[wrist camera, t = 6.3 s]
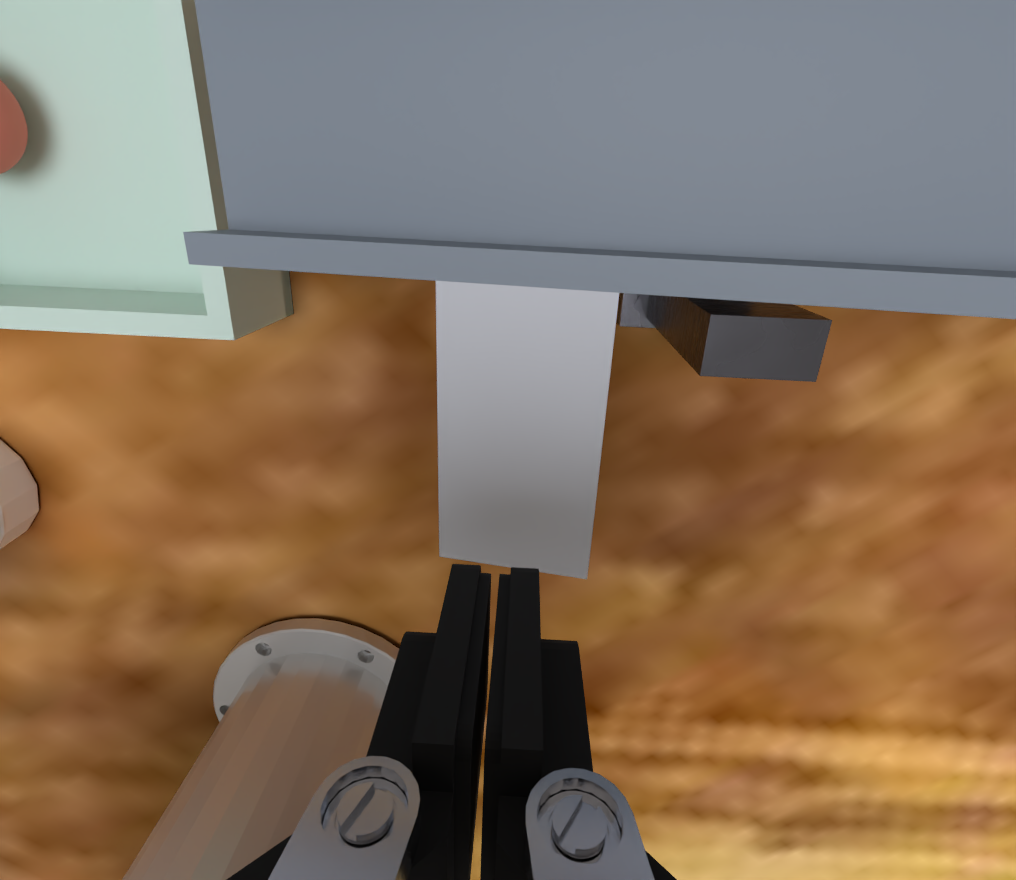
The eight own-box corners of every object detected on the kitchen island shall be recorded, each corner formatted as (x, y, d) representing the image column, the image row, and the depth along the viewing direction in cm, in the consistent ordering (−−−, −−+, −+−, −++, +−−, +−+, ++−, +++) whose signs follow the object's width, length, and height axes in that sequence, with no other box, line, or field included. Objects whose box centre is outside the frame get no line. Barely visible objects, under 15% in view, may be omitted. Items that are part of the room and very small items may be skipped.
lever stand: (739, 328, 23) (850, 398, 15) (617, 322, 23) (659, 388, 15) (819, -77, 18) (1059, -318, 10) (663, -81, 18) (765, -321, 10)
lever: (1203, 571, 17) (1425, 713, 13) (318, 458, 23) (231, 528, 18) (1614, -77, 11) (2369, -295, 6) (266, -30, 16) (110, -131, 11)
